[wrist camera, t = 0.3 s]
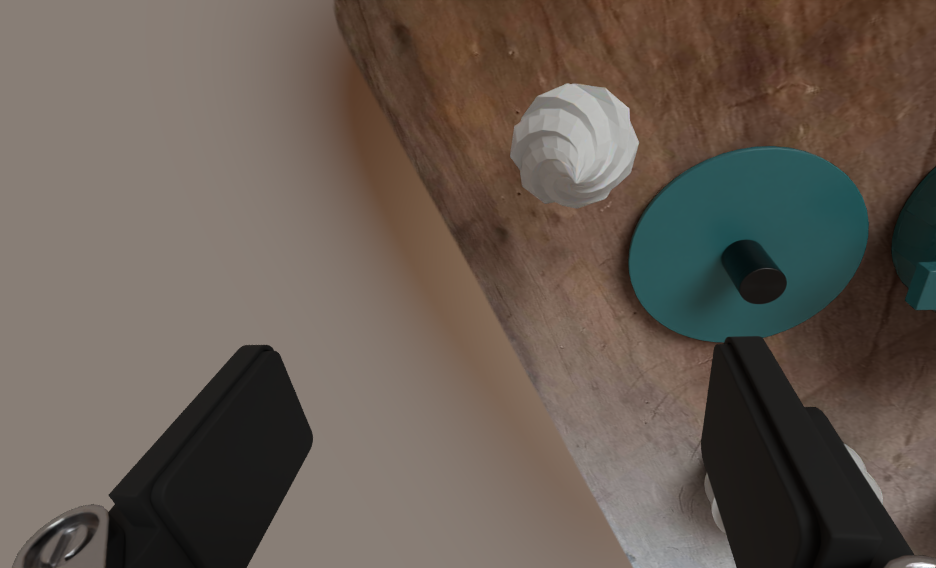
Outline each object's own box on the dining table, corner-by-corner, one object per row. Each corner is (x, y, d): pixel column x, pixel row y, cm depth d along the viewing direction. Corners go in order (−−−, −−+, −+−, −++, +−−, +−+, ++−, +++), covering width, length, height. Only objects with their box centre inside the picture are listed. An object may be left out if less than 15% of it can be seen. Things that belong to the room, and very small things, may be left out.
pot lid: (628, 155, 32) (640, 182, 27) (887, 130, 29) (946, 155, 24) (625, 336, 39) (634, 379, 35) (832, 331, 36) (870, 378, 32)
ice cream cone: (534, 157, 33) (519, 262, 20) (514, 70, 30) (483, 127, 17) (620, 136, 31) (663, 236, 18) (607, 42, 29) (647, 84, 16)
